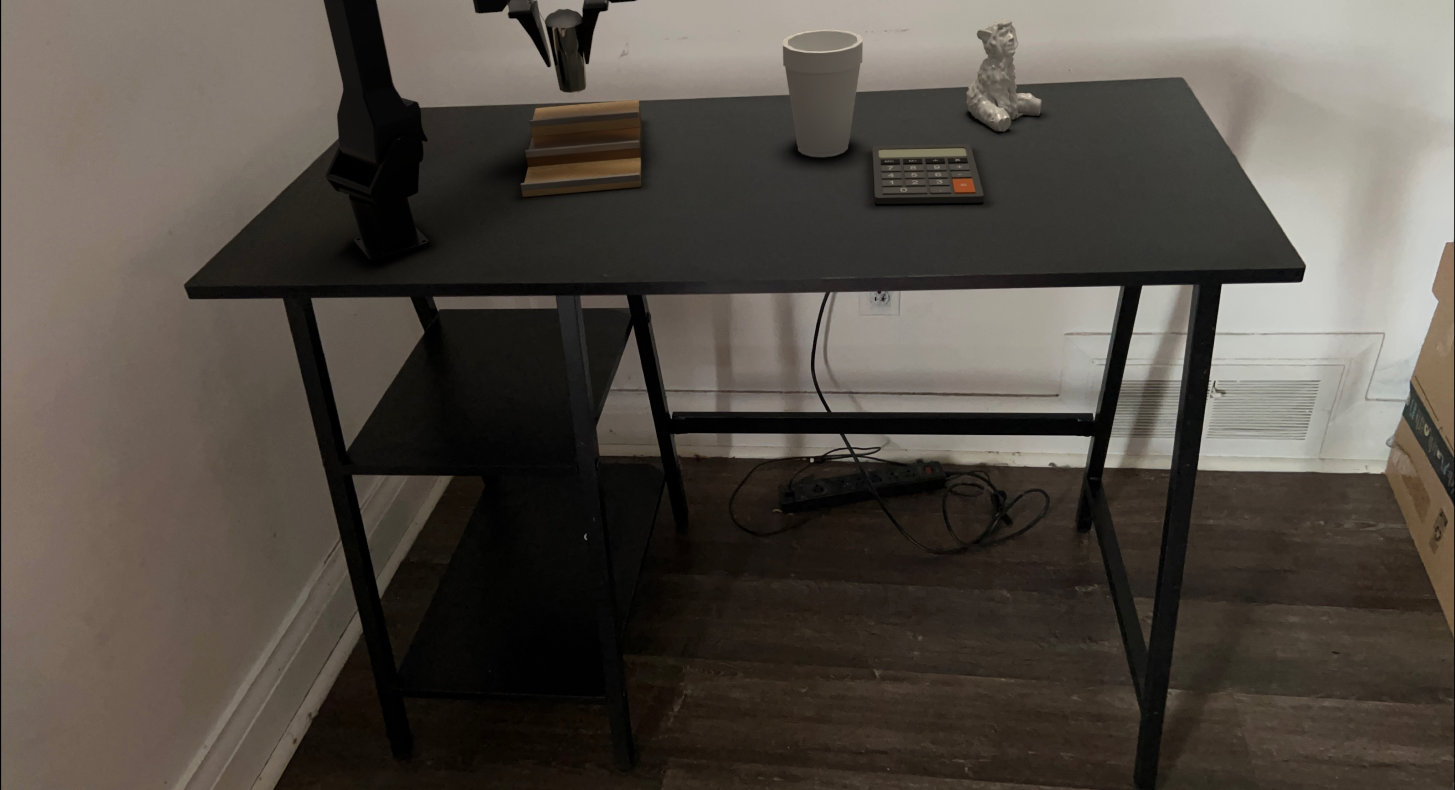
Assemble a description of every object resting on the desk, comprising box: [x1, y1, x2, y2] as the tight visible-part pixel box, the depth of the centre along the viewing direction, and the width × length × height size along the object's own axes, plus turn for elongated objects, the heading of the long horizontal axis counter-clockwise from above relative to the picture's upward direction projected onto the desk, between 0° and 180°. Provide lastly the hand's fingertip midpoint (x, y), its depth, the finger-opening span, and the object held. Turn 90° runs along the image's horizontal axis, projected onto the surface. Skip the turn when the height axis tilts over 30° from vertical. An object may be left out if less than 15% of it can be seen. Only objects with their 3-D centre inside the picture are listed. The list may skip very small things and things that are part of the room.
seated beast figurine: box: [965, 18, 1043, 133], centre depth 121 cm, size 10×9×12 cm
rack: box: [520, 99, 643, 198], centre depth 120 cm, size 22×14×4 cm, turn 4°
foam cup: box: [782, 29, 864, 158], centre depth 116 cm, size 10×9×13 cm
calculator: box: [872, 143, 985, 205], centre depth 110 cm, size 12×1×15 cm
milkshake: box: [536, 7, 587, 94], centre depth 114 cm, size 5×5×10 cm
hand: (568, 65), depth 115 cm, fingers closed on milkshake, 4 cm apart
